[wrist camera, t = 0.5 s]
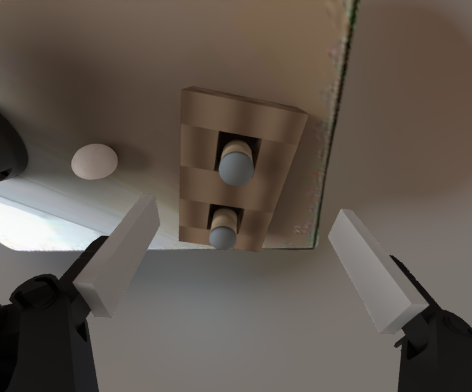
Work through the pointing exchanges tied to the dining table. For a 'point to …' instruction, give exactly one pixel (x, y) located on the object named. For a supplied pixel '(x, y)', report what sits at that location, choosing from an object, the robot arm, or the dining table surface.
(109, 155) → the egg
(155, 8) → the dining table surface
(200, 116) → the walnut board
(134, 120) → the dining table surface
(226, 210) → the dowel
